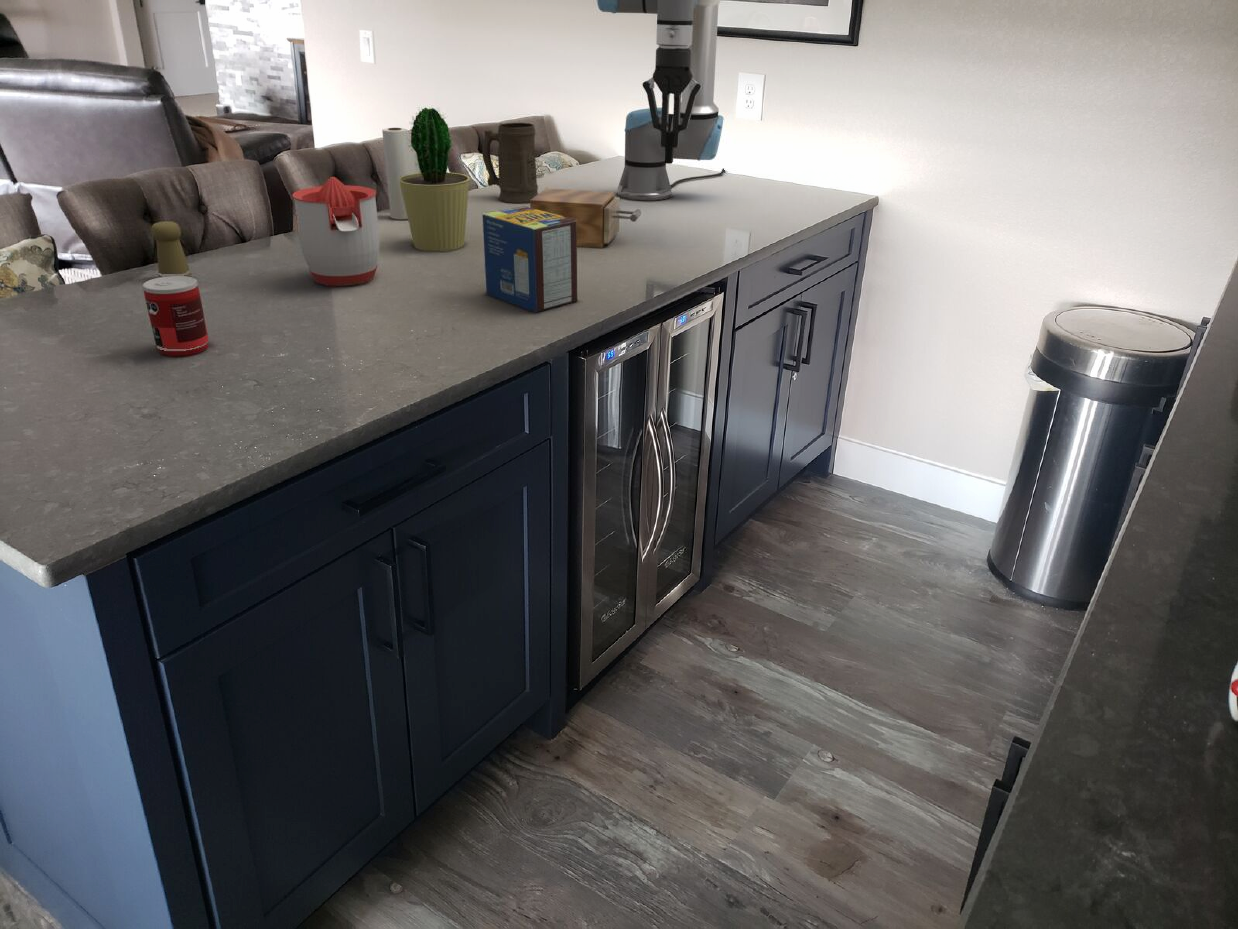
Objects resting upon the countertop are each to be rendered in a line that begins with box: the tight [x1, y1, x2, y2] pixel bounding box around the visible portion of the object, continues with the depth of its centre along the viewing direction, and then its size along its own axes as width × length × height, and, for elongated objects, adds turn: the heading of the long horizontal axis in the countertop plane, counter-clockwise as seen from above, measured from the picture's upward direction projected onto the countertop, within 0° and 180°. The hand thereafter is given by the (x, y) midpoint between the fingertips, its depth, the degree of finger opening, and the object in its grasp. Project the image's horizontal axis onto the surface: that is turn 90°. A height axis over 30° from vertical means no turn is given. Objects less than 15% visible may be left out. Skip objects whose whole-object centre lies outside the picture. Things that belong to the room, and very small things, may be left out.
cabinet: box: [529, 187, 616, 249], centre depth 217 cm, size 17×14×10 cm
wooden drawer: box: [603, 196, 642, 244], centre depth 216 cm, size 21×13×8 cm, turn 79°
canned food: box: [142, 276, 210, 357], centre depth 148 cm, size 8×8×11 cm
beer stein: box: [481, 122, 539, 204], centre depth 252 cm, size 15×11×20 cm
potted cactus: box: [399, 106, 471, 252], centre depth 204 cm, size 15×15×30 cm
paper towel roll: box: [381, 127, 421, 220], centre depth 229 cm, size 7×6×21 cm
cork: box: [150, 220, 193, 278], centre depth 182 cm, size 6×6×11 cm
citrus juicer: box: [291, 176, 380, 287], centre depth 181 cm, size 16×17×20 cm
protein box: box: [482, 205, 578, 313], centre depth 174 cm, size 10×15×16 cm
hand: (668, 162), depth 207 cm, fingers closed
